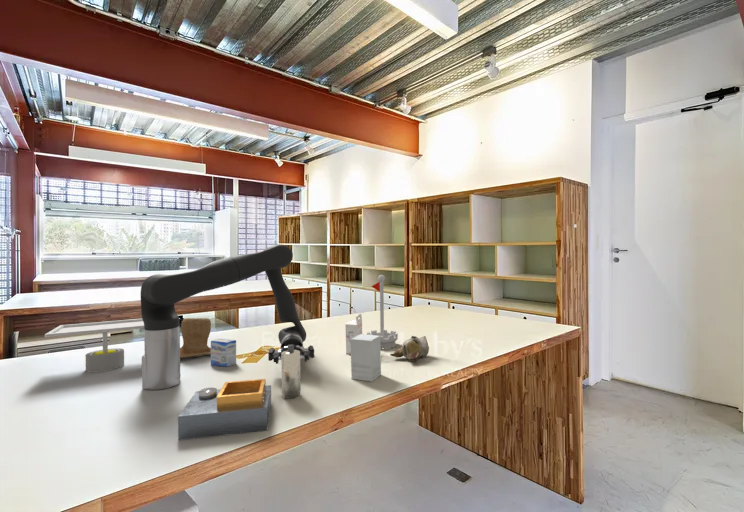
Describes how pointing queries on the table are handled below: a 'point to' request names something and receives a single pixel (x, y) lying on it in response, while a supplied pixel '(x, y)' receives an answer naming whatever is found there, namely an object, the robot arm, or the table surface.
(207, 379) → the table surface
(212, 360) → the medicine box
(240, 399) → the grey base with tray
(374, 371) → the supplement box
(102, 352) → the solar panel model
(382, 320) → the flag stand
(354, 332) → the ink cartridge box
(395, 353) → the ceramic sculpture
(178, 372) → the robot arm
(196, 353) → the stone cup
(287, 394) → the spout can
